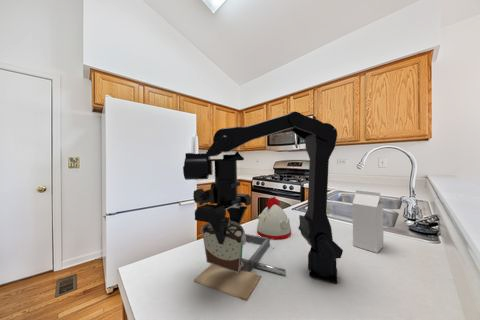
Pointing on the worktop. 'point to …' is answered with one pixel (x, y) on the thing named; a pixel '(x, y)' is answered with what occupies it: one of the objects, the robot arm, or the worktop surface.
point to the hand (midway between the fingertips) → (227, 238)
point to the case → (259, 252)
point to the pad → (229, 281)
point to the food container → (225, 246)
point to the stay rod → (269, 268)
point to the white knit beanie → (273, 222)
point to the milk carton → (368, 221)
